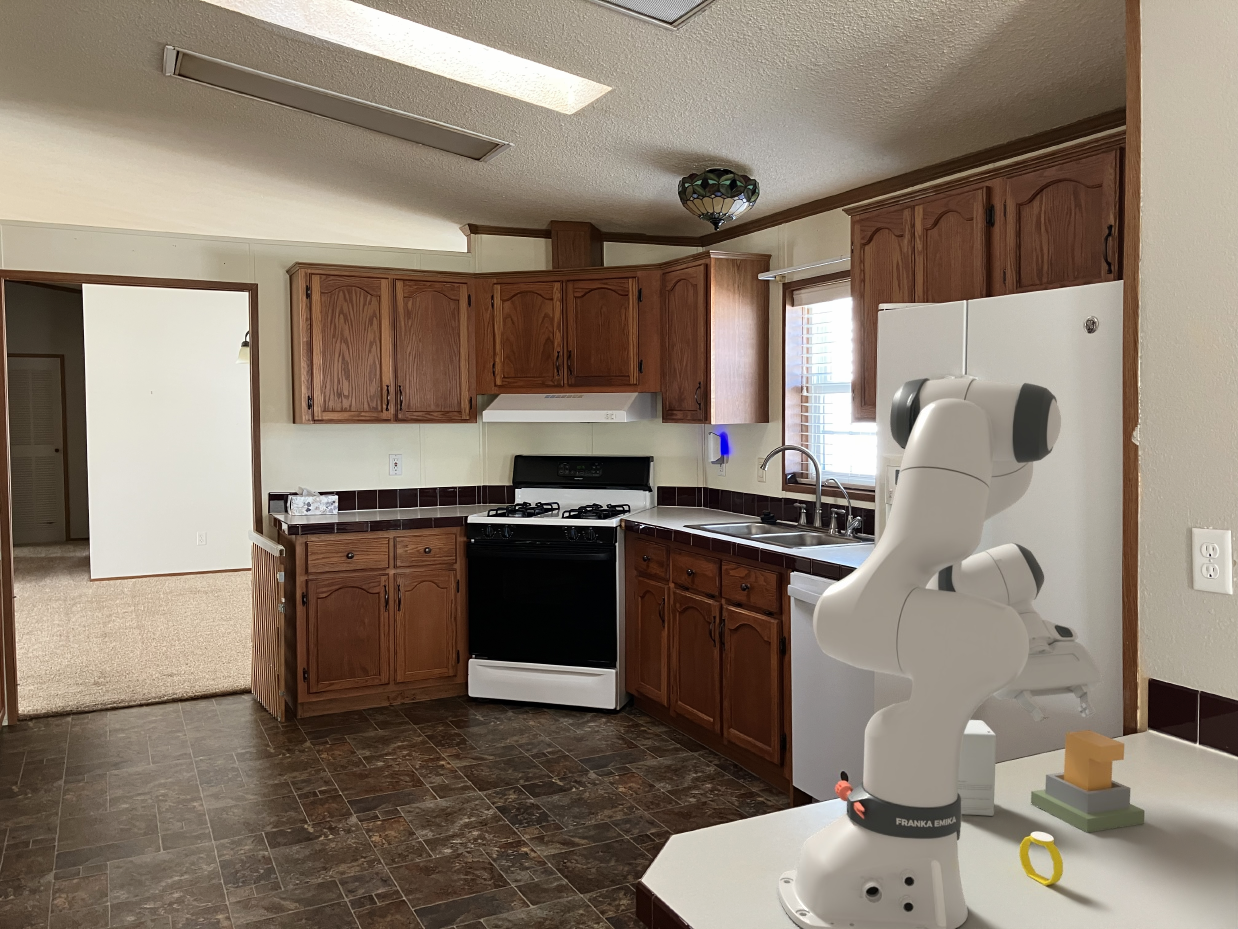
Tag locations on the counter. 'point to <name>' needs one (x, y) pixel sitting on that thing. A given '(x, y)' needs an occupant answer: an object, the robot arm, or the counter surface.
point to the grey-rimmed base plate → (1088, 804)
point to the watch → (1048, 842)
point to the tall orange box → (1090, 759)
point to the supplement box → (977, 769)
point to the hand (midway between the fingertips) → (1066, 717)
